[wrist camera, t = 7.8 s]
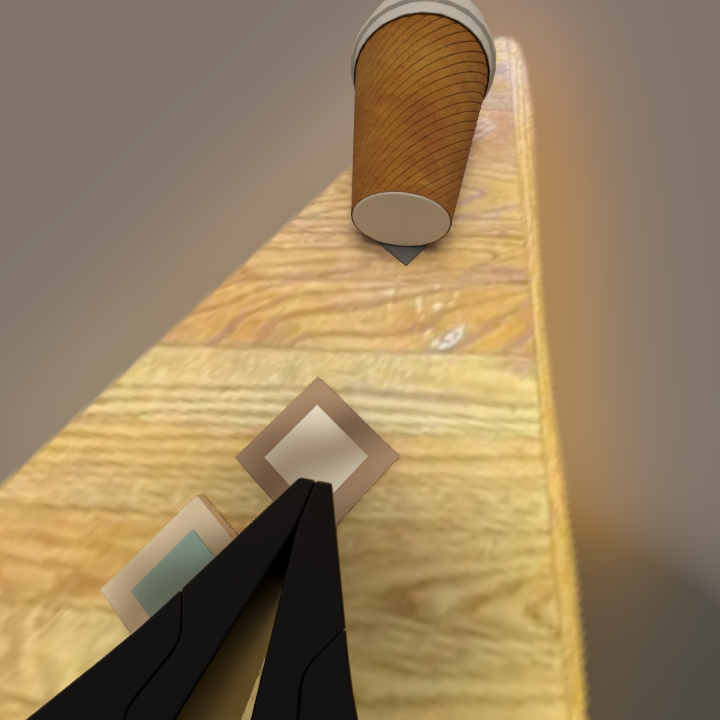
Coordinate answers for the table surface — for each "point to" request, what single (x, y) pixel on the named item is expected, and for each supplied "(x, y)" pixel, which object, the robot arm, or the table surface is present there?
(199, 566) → the birch marker tile
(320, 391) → the walnut marker tile
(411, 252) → the black coaster
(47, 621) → the table surface
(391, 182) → the disposable coffee cup
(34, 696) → the table surface
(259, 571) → the robot arm
